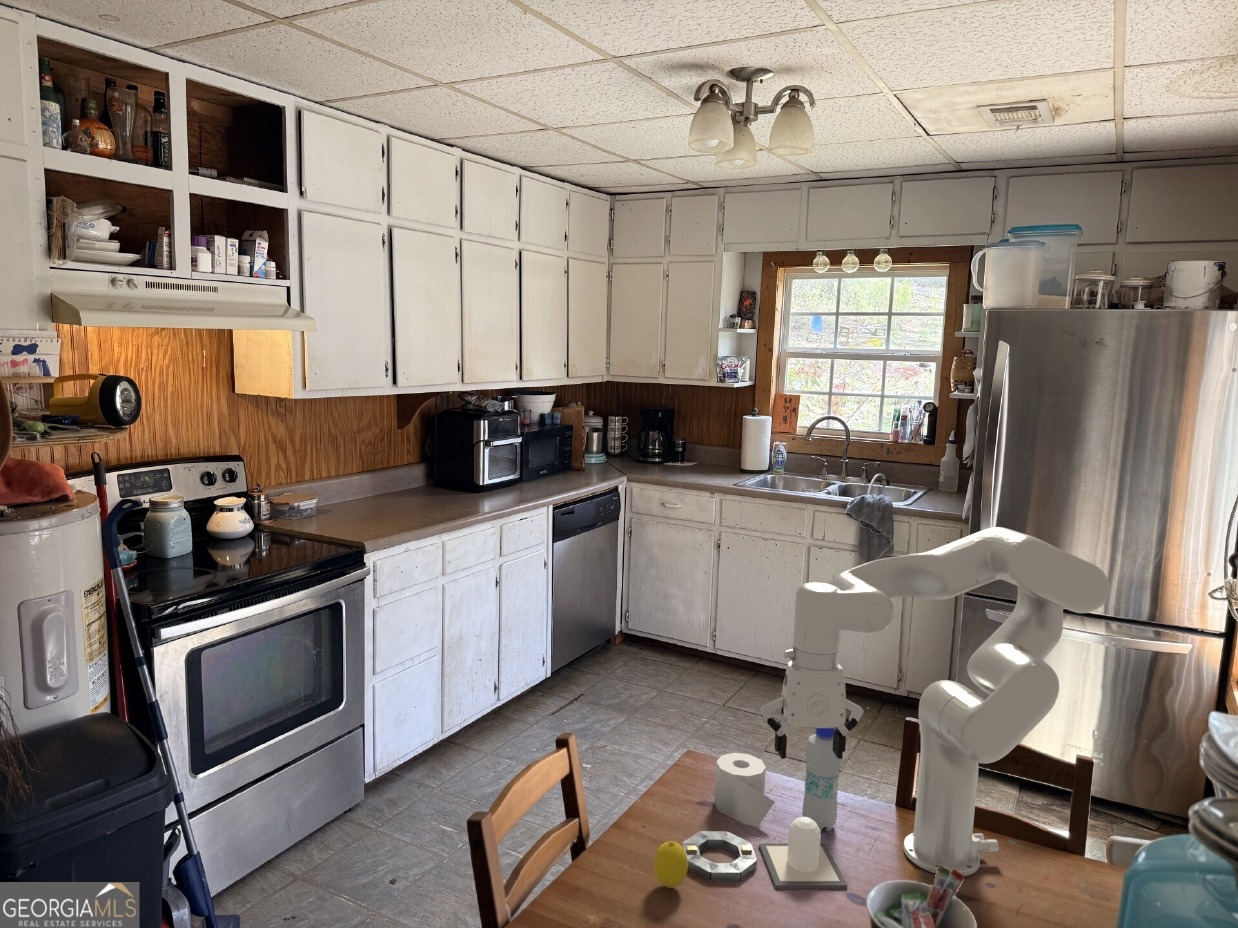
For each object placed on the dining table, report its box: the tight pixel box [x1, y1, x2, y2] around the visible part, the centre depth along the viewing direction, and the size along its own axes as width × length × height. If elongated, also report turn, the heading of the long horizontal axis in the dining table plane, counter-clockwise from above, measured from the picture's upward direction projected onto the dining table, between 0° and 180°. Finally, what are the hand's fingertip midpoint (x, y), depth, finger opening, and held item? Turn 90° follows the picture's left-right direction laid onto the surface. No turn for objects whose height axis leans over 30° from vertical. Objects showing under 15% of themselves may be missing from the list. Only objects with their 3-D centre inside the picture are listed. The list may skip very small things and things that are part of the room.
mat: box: [758, 842, 848, 890], centre depth 141 cm, size 12×12×1 cm
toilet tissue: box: [713, 752, 776, 828], centre depth 159 cm, size 9×13×9 cm
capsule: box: [787, 816, 822, 872], centre depth 141 cm, size 5×5×8 cm
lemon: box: [653, 840, 689, 889], centre depth 134 cm, size 6×6×8 cm
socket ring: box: [681, 830, 758, 883], centre depth 142 cm, size 12×12×2 cm
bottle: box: [801, 728, 843, 833], centre depth 153 cm, size 7×7×20 cm
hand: (809, 755), depth 139 cm, fingers open, 9 cm apart
